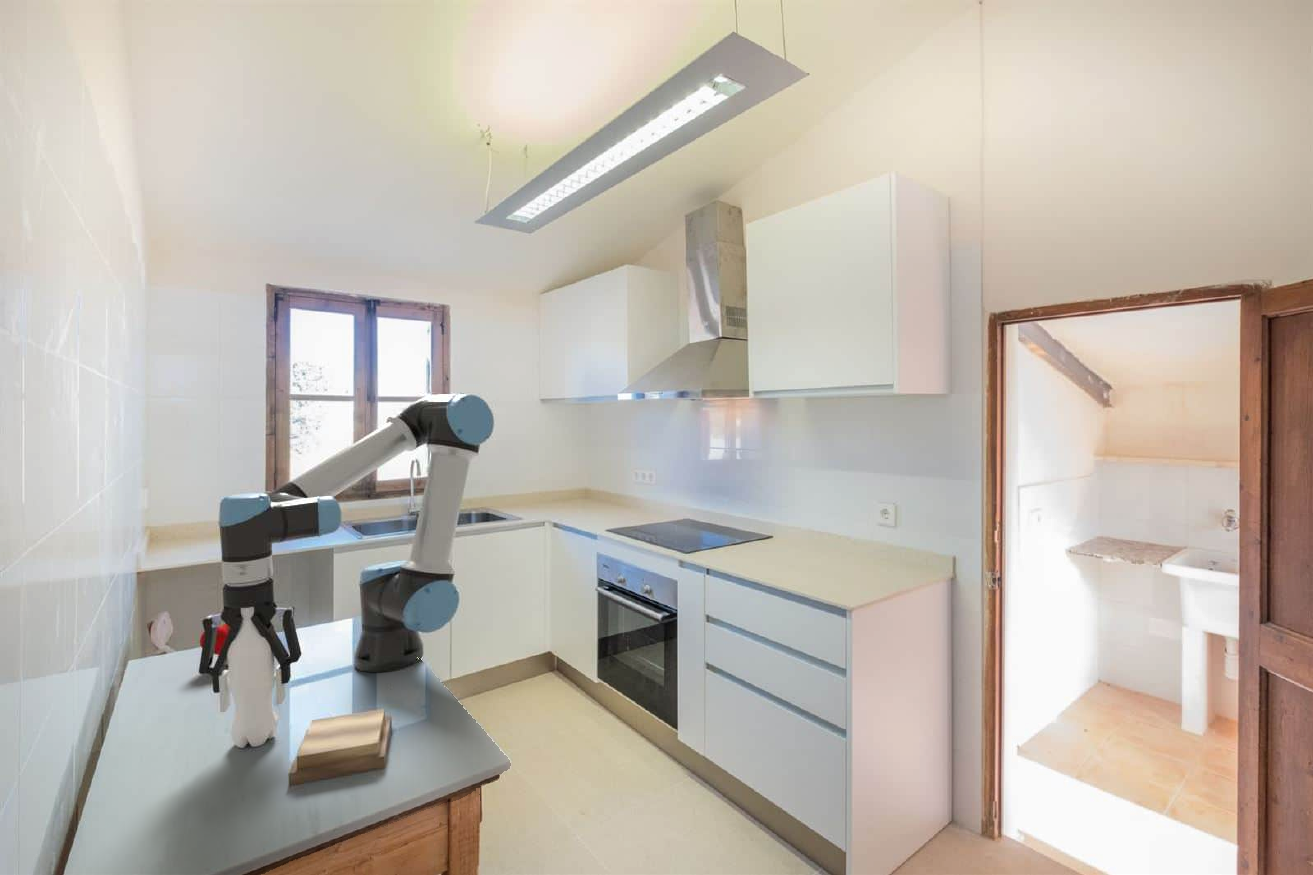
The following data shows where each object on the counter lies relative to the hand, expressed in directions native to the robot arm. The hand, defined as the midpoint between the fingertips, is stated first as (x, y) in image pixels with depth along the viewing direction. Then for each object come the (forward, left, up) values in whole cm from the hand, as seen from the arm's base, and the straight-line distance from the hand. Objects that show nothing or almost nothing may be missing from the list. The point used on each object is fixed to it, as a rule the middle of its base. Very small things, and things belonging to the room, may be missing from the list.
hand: (253, 704), depth 109 cm
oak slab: (+10, +16, -5) cm, 19 cm away
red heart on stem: (-39, -16, -7) cm, 43 cm away
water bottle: (0, 0, -7) cm, 7 cm away
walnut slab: (+10, +16, -7) cm, 20 cm away
